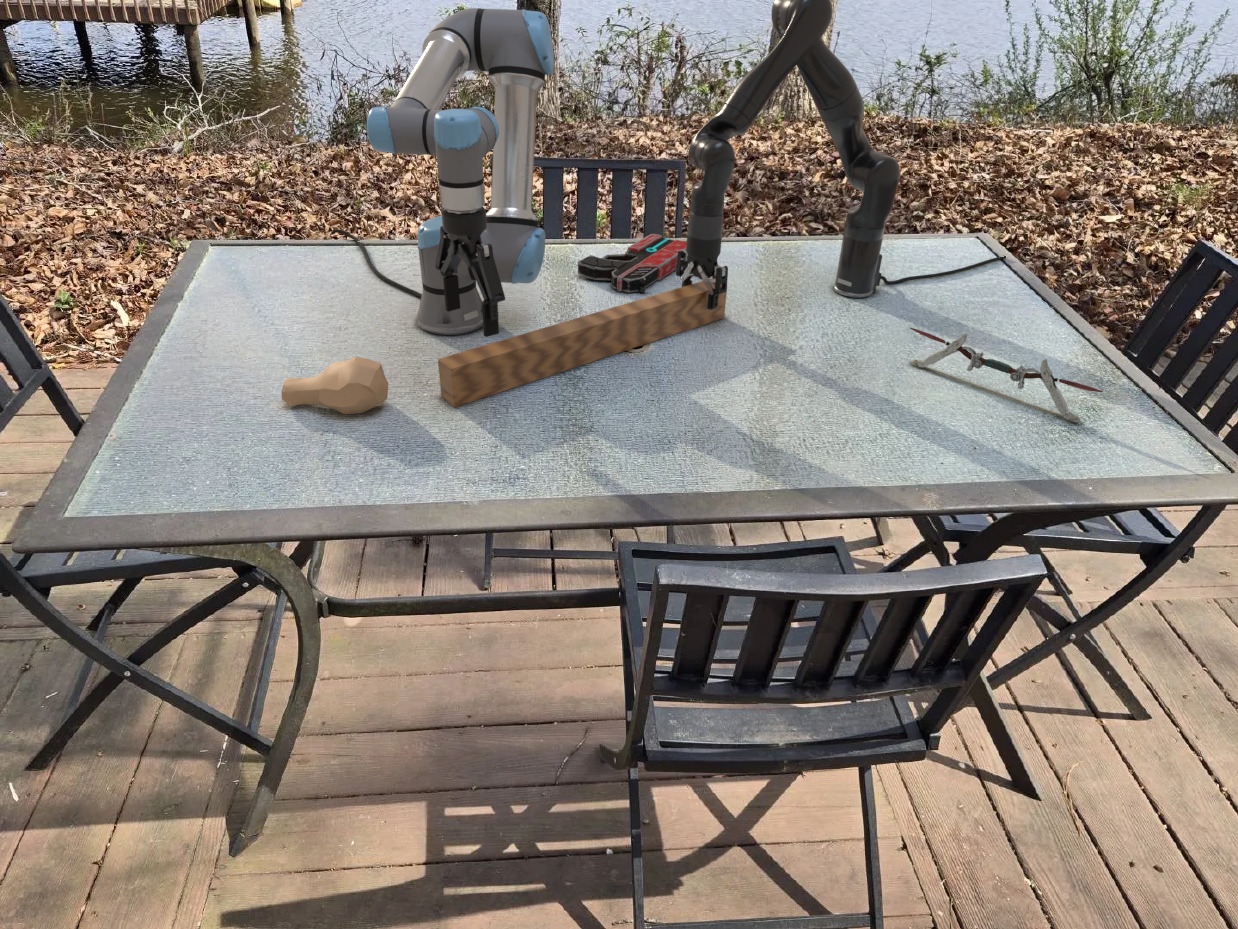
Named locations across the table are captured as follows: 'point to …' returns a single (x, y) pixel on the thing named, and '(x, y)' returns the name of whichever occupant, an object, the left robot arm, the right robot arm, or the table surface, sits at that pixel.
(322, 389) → the squash
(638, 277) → the gun
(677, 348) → the table surface
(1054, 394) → the bow
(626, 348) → the post
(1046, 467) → the table surface
